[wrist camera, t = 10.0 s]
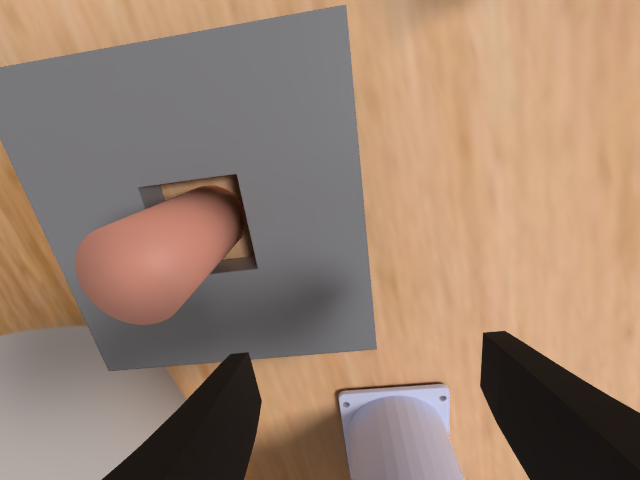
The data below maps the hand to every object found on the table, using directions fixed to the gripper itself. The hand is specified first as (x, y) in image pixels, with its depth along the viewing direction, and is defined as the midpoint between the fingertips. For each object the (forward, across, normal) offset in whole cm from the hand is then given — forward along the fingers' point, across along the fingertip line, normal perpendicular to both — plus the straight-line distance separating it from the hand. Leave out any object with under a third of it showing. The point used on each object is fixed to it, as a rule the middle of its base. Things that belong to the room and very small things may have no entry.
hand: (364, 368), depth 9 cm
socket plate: (+10, +8, -3) cm, 13 cm away
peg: (+10, +8, -3) cm, 13 cm away
